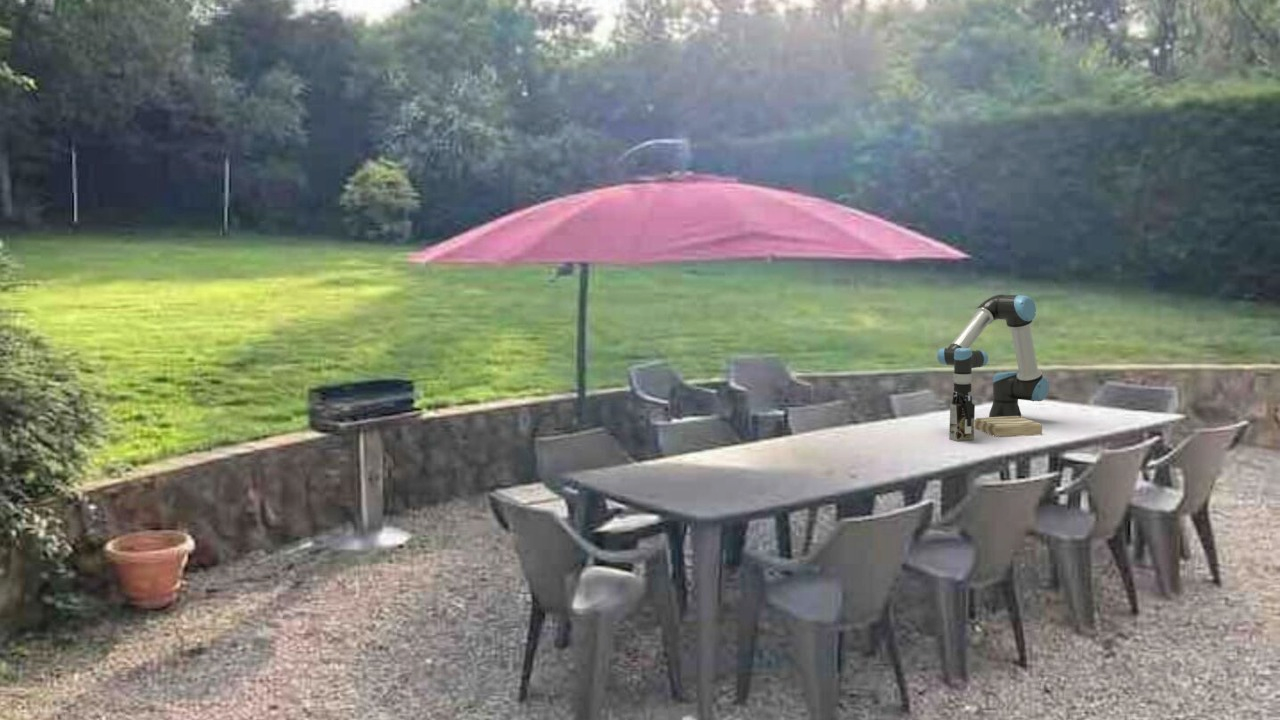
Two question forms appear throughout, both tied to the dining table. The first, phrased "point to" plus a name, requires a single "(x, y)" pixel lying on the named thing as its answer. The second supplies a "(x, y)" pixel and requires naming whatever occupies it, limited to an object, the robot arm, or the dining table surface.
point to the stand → (1008, 426)
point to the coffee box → (959, 423)
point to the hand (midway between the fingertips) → (961, 430)
